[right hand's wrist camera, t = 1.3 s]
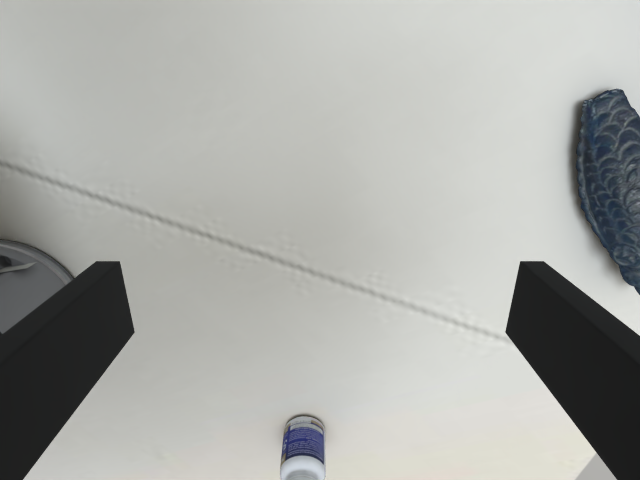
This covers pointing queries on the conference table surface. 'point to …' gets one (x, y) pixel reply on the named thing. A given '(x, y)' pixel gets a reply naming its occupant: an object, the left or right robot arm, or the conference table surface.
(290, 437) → the pill bottle
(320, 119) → the conference table surface
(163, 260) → the conference table surface
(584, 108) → the fish model
